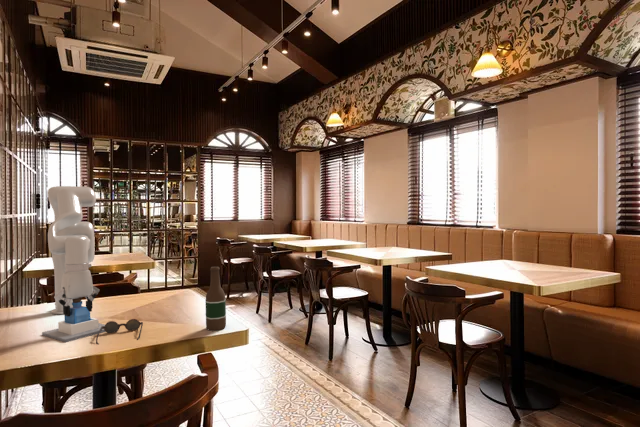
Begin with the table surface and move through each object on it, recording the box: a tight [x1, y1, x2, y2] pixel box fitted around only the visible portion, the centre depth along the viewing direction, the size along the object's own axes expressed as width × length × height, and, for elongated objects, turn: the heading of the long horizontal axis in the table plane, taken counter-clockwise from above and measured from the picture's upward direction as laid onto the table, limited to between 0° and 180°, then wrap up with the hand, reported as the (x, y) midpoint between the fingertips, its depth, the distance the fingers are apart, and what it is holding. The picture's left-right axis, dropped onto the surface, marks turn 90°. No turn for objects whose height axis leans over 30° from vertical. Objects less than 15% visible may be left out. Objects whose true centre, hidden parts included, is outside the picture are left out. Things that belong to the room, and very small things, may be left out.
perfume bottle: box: [63, 297, 91, 324], centre depth 157 cm, size 6×6×12 cm
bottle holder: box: [41, 316, 107, 343], centre depth 157 cm, size 18×18×4 cm
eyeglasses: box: [95, 318, 144, 345], centre depth 150 cm, size 15×15×5 cm
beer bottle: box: [205, 266, 227, 332], centre depth 158 cm, size 8×8×24 cm
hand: (78, 313), depth 157 cm, fingers open, 7 cm apart
